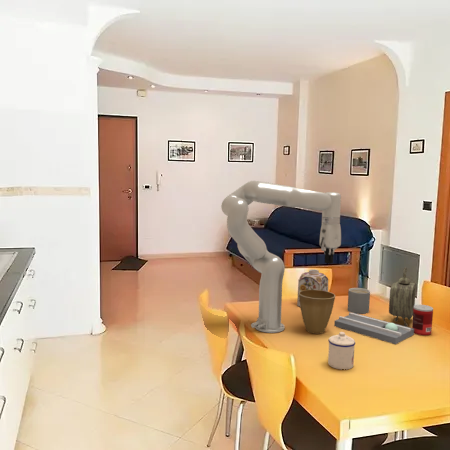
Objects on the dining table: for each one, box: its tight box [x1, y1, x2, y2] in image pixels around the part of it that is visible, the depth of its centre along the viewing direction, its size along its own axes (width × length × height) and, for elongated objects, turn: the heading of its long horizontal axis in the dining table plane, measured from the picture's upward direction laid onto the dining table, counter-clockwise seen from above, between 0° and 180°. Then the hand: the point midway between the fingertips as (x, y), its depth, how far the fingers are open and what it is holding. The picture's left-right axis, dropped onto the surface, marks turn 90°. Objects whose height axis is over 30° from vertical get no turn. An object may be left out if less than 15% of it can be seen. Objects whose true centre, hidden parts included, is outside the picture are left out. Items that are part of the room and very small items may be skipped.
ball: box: [385, 322, 398, 331], centre depth 196 cm, size 5×5×5 cm
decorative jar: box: [296, 268, 329, 307], centre depth 235 cm, size 12×12×18 cm
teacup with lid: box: [327, 331, 356, 371], centre depth 167 cm, size 12×9×12 cm
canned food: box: [411, 304, 434, 337], centre depth 199 cm, size 8×8×11 cm
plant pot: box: [299, 290, 336, 335], centre depth 199 cm, size 15×15×16 cm
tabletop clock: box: [388, 266, 417, 327], centre depth 211 cm, size 14×9×25 cm, turn 152°
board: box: [333, 312, 415, 345], centre depth 201 cm, size 28×16×4 cm, turn 44°
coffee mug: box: [347, 287, 371, 315], centre depth 230 cm, size 13×10×10 cm
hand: (328, 262), depth 207 cm, fingers closed
